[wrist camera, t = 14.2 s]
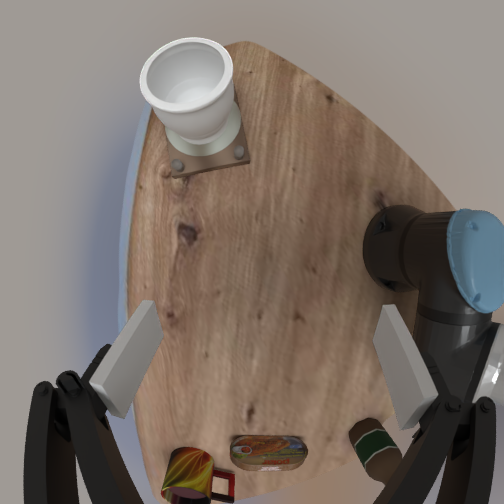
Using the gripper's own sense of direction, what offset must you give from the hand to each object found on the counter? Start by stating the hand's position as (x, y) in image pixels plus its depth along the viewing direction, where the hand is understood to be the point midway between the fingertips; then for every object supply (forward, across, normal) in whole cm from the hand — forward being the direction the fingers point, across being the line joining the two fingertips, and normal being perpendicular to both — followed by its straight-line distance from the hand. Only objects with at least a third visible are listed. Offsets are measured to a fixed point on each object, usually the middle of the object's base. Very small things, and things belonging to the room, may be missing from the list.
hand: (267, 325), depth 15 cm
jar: (+31, -11, +13) cm, 35 cm away
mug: (+9, -14, -50) cm, 53 cm away
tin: (+14, 0, -44) cm, 46 cm away
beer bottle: (+16, +21, -46) cm, 53 cm away
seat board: (+32, -11, +11) cm, 36 cm away
